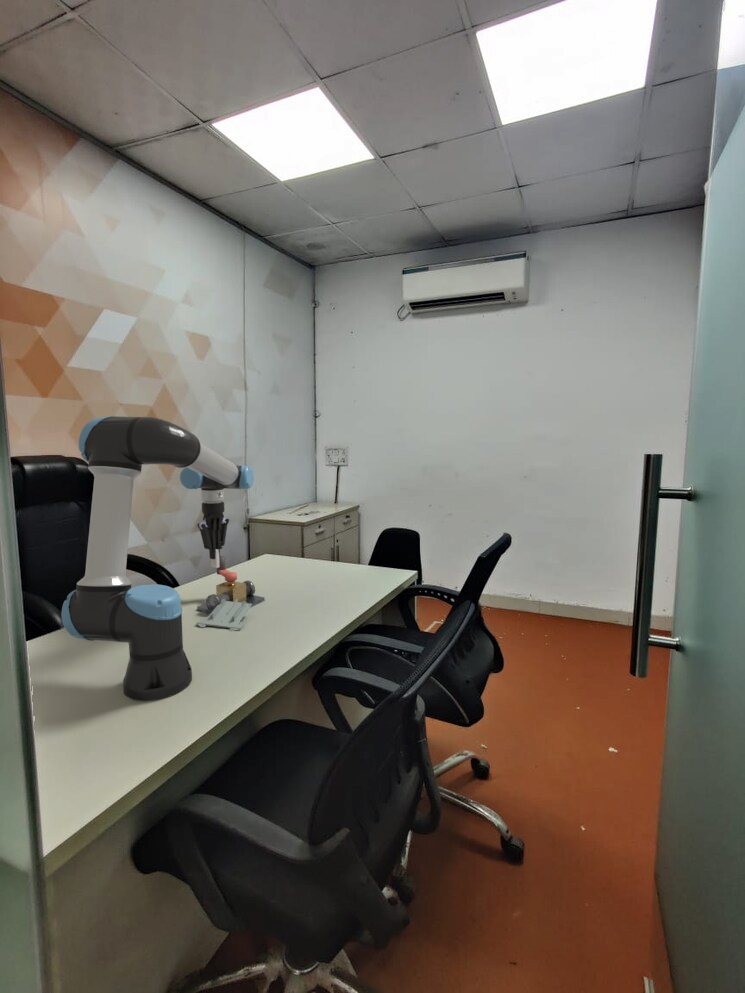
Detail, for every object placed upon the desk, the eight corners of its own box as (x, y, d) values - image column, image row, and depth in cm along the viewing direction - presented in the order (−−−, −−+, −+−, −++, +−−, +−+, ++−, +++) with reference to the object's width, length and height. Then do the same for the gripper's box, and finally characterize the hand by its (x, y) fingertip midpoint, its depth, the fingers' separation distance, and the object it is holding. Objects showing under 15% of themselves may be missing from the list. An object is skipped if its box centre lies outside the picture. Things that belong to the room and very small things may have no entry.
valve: (228, 617, 157) (227, 591, 156) (197, 610, 163) (196, 584, 162) (264, 600, 173) (263, 576, 172) (234, 594, 179) (234, 570, 178)
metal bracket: (216, 593, 161) (258, 598, 158) (219, 608, 163) (260, 612, 160) (193, 621, 148) (238, 626, 145) (196, 636, 151) (240, 642, 148)
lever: (238, 579, 166) (238, 562, 166) (227, 582, 164) (226, 564, 163) (225, 571, 176) (224, 555, 175) (214, 573, 174) (213, 557, 173)
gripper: (206, 504, 161) (209, 573, 164) (234, 500, 173) (236, 564, 176) (190, 503, 165) (193, 570, 168) (218, 498, 176) (220, 561, 179)
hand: (215, 567), depth 172 cm, fingers closed
